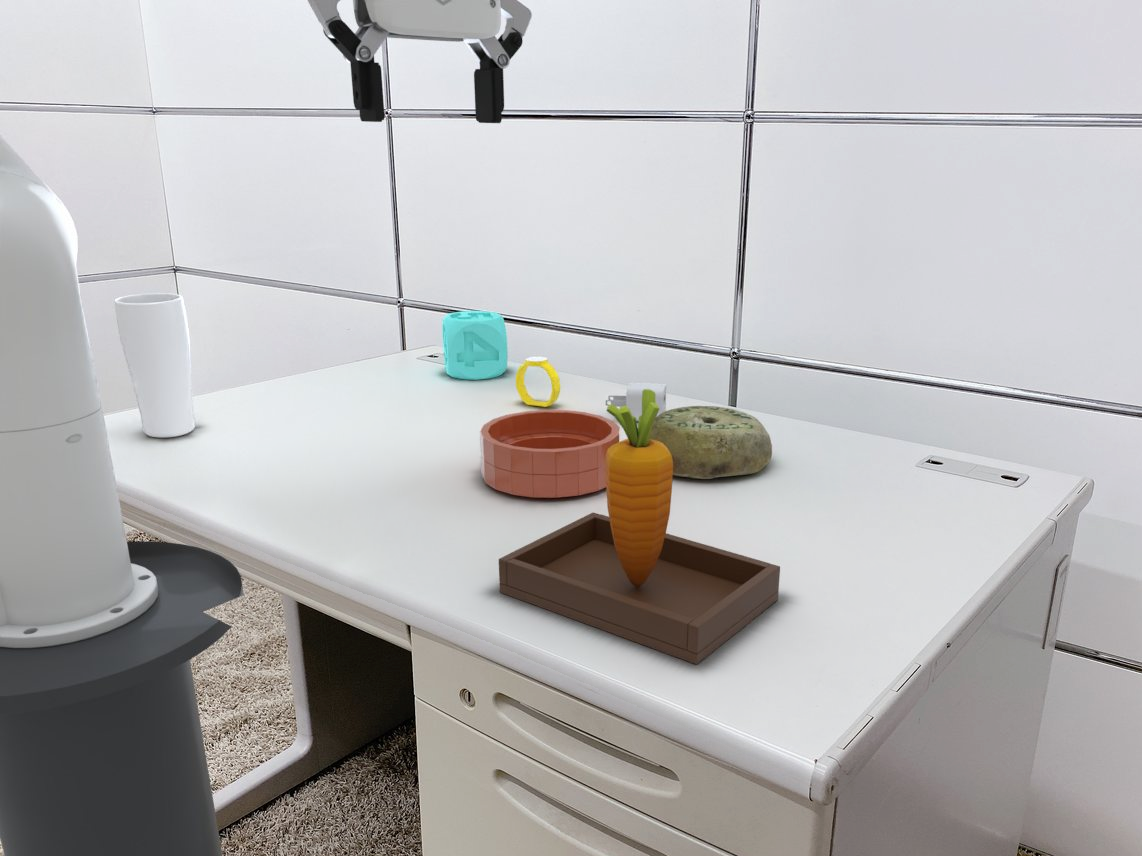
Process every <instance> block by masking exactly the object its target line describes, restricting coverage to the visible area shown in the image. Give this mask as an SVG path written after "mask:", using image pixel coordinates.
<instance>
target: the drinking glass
mask: <svg viewBox="0 0 1142 856" xmlns="http://www.w3.org/2000/svg"><path fill="white" fill-rule="evenodd" d="M113 302H114V309H115V319H116V325H117V330H118V334H119V339H120V344H121V348H122V352H123V355H124V359H125V363H126V366H127V370H128V372H129V378H130V381H131V385H132V388H133V392H134V396H135V399H136V400H135V401H136V403H137V407H138V411H139V415H140V419H141V420H140V421H141V427H142V430H143V432H144V434H145V435H147V436H149V437H152V438H156V439H157V438H161V439H165V438H166V439H167V438H175V437H181V436H184V435H187V434H189V433H191V432H193V431H194V429H195V427H196V418H195V412H194V399H193V383H192V381H193V380H192V364H191V363H192V362H191V346H190V332H189V325H188V318H187V311H186V307H185V303H184V297H183V296H182V295H180V294H177V293H170V292H169V293H168V292H151V293H150V292H149V293H138V294H129V295H124V296H120V297H117V298H115V300H114V301H113Z"/></svg>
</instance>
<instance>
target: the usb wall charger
mask: <svg viewBox="0 0 1142 856" xmlns="http://www.w3.org/2000/svg"><path fill="white" fill-rule="evenodd" d="M644 389H650V390H652V391H653V392H655V403H656V404H657V405H658V407H659V408H660V409H659V411H658V413H657V416H658V415H660V414H661V413H663V412H665V411H667V383H652V382H650V383H649V382H629V384H628V386H627V388H626V393H625V395H615V394H614V395H608V397H607V399H605V406H606V407H608V406H609V405H610V404H612V405H614V406H615V407H617V408H620V407H622V406H628V408H629V409H630V411H631V414H632V416H634V417H635V418H636V422H638V421H639V416H641V415H642V391H643V390H644ZM611 398H613V399H611ZM608 402H610V404H608ZM657 416H656V417H657Z"/></svg>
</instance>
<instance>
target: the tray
mask: <svg viewBox="0 0 1142 856" xmlns="http://www.w3.org/2000/svg"><path fill="white" fill-rule="evenodd" d="M498 576H499V577H498V579H499V583H498V584H499V593H501V594H504V595H507V596H509V597H512V598H515V599H518V600H520V601H523V602H526V603H529V604H531V605H534V606H536V607H539V608H541V609H544V610H547V611H549V612H553V613H555V614H558V615H561V616H563V617H566V618H568V619H572V620H574V621H577V622H580V623H583V624H585V625H588V626H591V627H594V628H596V629H599V630H600V631H601V630H602V631H603V632H607V633H610V634H613V635H615V636H617V637H621V638H623V639H626V640H629V641H630V642H635V643H637V644H640V645H642V646H645V647H648V648H651V649H653V650H655V651H658V652H662V653H664V654H666V655H670V656H672V657H675V658H677V659H680V660H683V661H686V662H688V663H691V664H693V665H694V664H695V665H698V664H699V663H700V662H702V661H703V660H704V659H705V658H707V657H708V656H709V655H711V654H712V653H713V652H714V651H715V650H717V649H718V648H720V646H722V645H723V644H724V643H726V642H727V641H728V640H729V639H731V638H732V637H733V636H734V635H736V634H737V633H738V632H739V631H741V630H743V628H745V627H746V626H747V625H748V624H749V623H751V622H752V621H753V620H755V619H756V618H757V617H758V616H760V615H761V614H762V613H763V612H765V611H766V610H767V609H768V608H769V607H771V606H772V605H773V604H775V603H776V602H777V601H779V593H780V591H779V590H780V589H779V588H780V577H781V566H780V565H776V564H773V563H770V562H767V561H763V560H760V559H757V558H753V557H751V556H750V557H749V556H746V555H742V554H739V553H736V552H732V551H729V550H725V549H723V548H718V547H714V546H712V545H708V544H705V543H701V542H699V541H694V540H691V539H687V538H684V537H680V536H677V535H674V534H670V533H667V532H666V534H665V538H664V542H663V546H662V550H661V553H660V555H659V557H658V560H657V562H656V564H655V566H654V568H653V570H652V571H651V573H650V575H649V576H648V578H647V580H646V581H645V582H644V583H643V584H642V585H641V586H640V587H635V586H634V585H633V584H632V583H630V581H629V579H628V577H627V575H626V573H625V571H624V569H623V567H622V564H621V562H620V559H619V556H618V554H617V551H616V548H615V545H614V540H613V535H612V530H611V525H610V519H609V515H605V514H601V513H596V512H591V513H588V514H586V515H585V516H583V517H581V518H578V519H576V520H575V521H572V522H570V523H568V524H566V525H565V526H562V527H561V528H558V529H556V530H554V531H552V532H550V533H548V534H546V535H545V536H542V537H540V538H537V539H536V540H533V541H532V542H530V543H528V544H526V545H524V546H522V547H520V548H518V549H516V550H514V551H512V552H510V553H508V554H505V555H504V556H501V557H499V558H498Z"/></svg>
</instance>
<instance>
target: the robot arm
mask: <svg viewBox="0 0 1142 856" xmlns="http://www.w3.org/2000/svg"><path fill="white" fill-rule="evenodd" d="M340 1H341V0H307V2H308V4H309V6H310V8H311V10H312V12H313V13H314V15H315V17H316V19H317V21H318V24H320V25H321V28H322V31H323V35H324V36H325V37H326V38H327V39H328V40H329V42H331V44H333V46H334V47H335V48H336V49H337V50H338V51H339V52H340V53H341V54H342V56H343V59H344V60H345V61H346V63H348V64H350V75H351V76H350V77H351V86H352V97H353V98H352V99H353V106H354V109H355V110H356V111H359V112H358V113H359V119H360V121H361V122H365V123H368V122H369V123H382V122H383V121H385V103H384V102H385V101H384V89H383V76H382V75H383V74H382V66H381V64H380V62H375V55H376V53H377V52H378V50H379V49H380V48H381V46H382V45H383V43H384V42H385V41H386V39H387V38H388V39H389V38H391V39H402V40H404V39H405V40H419V41H421V40H422V41H433V42H434V41H435V42H436V41H437V42H457V43H458V42H459V43H460V42H463V43H464V44H465V45H466V47H467V48H468V50H469V51H470V52H471V54H472V56H473V57H474V58H475V59H476V61H477V62H478V64H479V68H475V69H474V72H473V85H474V88H473V89H474V113H475V120H476V121H477V122H478V123H479V124H501V123H502V120H503V118H502V116H503V115H502V113H503V112H504V109H505V86H504V85H505V83H504V82H505V81H504V80H505V79H504V69H506V68H508V67H509V65H510V63H511V62H510V61H511V59H512V58H513V57H514V56H515V54H517V52H518V51H519V49H520V48H521V47H522V46H523V42H524V41H523V38H524V37H525V36H526V33H527V30H528V28H529V25H530V23H531V20H532V15H533V14H532V11H531V9H529V7H527V6H526V5H524V4H523V3H522V2H520V1H519V0H352V6H353V7H352V8H353V14H354V19H355V23H356V25H357V27H358V28H357V30H355V32H354V31H353V30H352V29H351V28H350V26H348V25H347V23H346V22H344V21H343V19H342V18H341V14H340V13H339V10H338V7H337V6H338V3H339V2H340ZM502 16H503V17H504V18H505V22H506V23H505V26H504V31H503V33H502V34H500V36H499V37H498V38H497V37H496V36H497V35H498V34H499V33H500V31H501V25H502ZM78 254H79V238H78V232H77V228H76V226H75V222H74V220H73V218H72V215H71V213H70V212H69V211H68V209H67V207H66V205H65V204H64V203H63V202H62V200H61V199H60V198H59V197H58V195H57V194H56V193H55V192H54V191H53V190H52V189H51V188H50V187H49V185H47V183H45V181H44V180H43V179H42V177H40V176H39V175H38V174H37V173H36V172H35V171H34V170H33V168H32V167H31V166H29V164H28V163H27V162H26V161H25V160H24V159H23V158H22V157H21V156H20V155H19V154H18V153H17V151H15V149H14V148H13V147H12V146H11V145H10V144H9V143H8V142H7V141H6V139H4V137H3V136H2V135H0V647H5V648H40V647H50V646H57V645H62V644H68V643H73V642H77V641H81V640H85V639H89V638H92V637H95V636H98V635H101V634H104V633H107V632H109V631H112V630H114V629H116V628H119V627H121V626H123V625H125V624H127V623H129V622H130V621H132V620H134V619H136V618H137V617H139V616H140V615H141V614H143V613H144V612H146V611H147V610H148V609H149V607H150V606H151V605H152V604H153V603H154V602H155V600H156V598H157V597H158V585H157V580H156V577H155V576H154V574H153V573H152V572H151V571H149V570H148V569H146V568H144V567H142V566H139V565H136V564H132V563H131V562H130V557H129V551H128V546H127V542H128V541H127V534H126V530H125V524H124V519H123V514H122V508H121V502H120V497H119V492H118V487H117V481H116V475H115V469H114V465H113V459H112V454H111V448H110V442H109V438H108V437H109V436H108V432H107V431H108V430H107V427H106V426H107V425H106V421H105V415H104V410H103V405H102V404H103V403H102V399H101V394H100V388H99V384H98V377H97V373H96V366H95V363H94V357H93V352H92V346H91V342H90V335H89V331H88V327H87V321H86V317H85V312H84V311H85V310H84V306H83V302H82V297H81V289H80V281H79V276H78V268H77V261H78Z"/></svg>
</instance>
